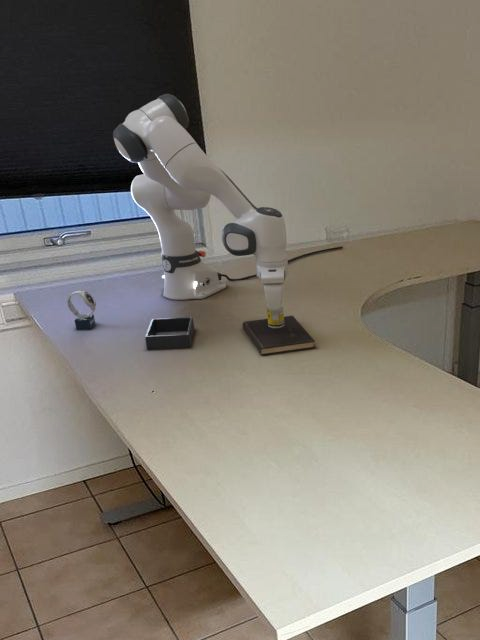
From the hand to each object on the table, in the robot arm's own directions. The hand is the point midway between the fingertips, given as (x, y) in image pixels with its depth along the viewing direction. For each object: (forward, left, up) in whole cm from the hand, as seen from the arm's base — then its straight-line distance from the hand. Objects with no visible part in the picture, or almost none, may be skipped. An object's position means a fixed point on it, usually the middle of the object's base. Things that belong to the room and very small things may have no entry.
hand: (275, 316), depth 217 cm
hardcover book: (0, 0, -7) cm, 7 cm away
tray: (+19, -25, -7) cm, 32 cm away
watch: (+27, -55, -7) cm, 61 cm away
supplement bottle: (0, 0, -3) cm, 3 cm away
